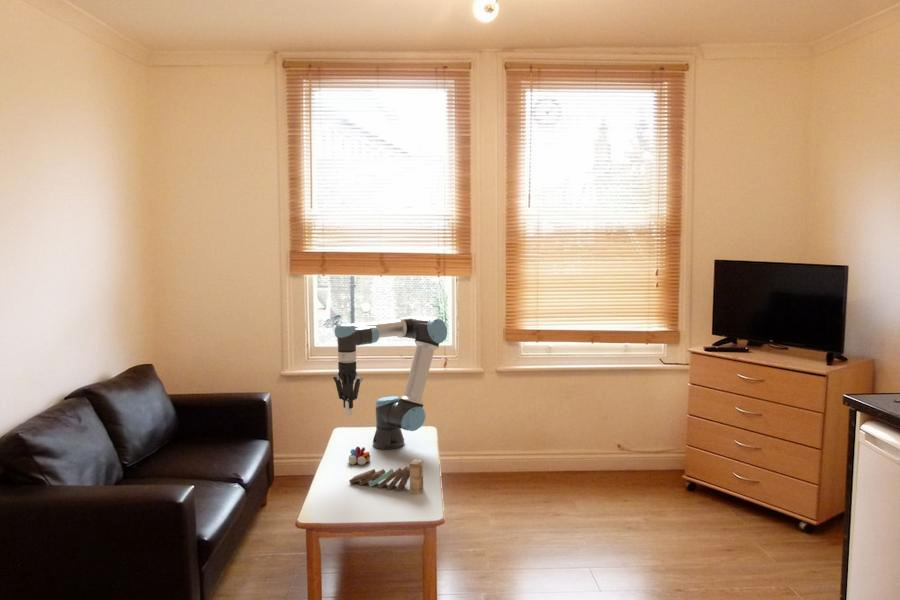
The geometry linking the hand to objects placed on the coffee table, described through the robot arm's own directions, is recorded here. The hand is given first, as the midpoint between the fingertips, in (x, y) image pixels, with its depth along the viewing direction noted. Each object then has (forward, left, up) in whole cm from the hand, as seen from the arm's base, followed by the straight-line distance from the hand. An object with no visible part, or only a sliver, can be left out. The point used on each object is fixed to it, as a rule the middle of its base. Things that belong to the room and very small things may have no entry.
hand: (348, 415), depth 260 cm
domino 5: (+10, +29, -24) cm, 39 cm away
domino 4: (+10, +24, -24) cm, 36 cm away
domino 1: (+10, +7, -24) cm, 27 cm away
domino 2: (+10, +12, -24) cm, 28 cm away
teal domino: (+10, +16, -24) cm, 30 cm away
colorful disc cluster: (-10, -1, -25) cm, 27 cm away
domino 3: (+10, +20, -24) cm, 33 cm away
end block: (+10, +36, -24) cm, 44 cm away
